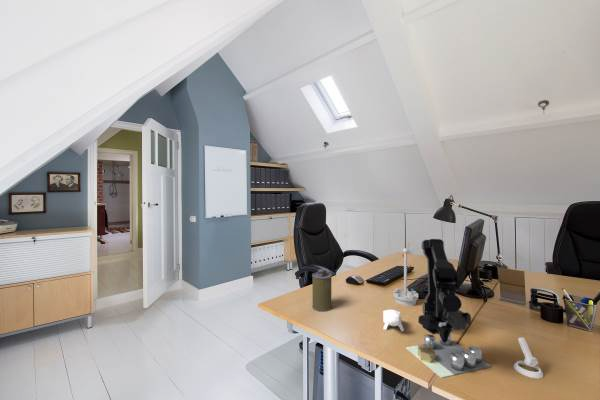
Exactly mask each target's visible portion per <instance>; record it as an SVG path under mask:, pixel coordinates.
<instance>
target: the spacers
mask: <svg viewBox="0 0 600 400" xmlns="http://www.w3.org/2000/svg"><path fill="white" fill-rule="evenodd" d="M451 340H452V333H450V335H449V337H448V340H447V342H445V343H444V342H443V341H442V339H441V337H440V336H439V341H440V343H441V344H442V345H445V346H451ZM436 342H437V340H436V337H435V336H434V335H432V334H429V333H427V334H424V336H423V344H424V346H427V347H431V348H432V349H433V350H435V349H436ZM482 360H483V350H482V349H481V348H480V347H478V346H473V345H471V346H469V347H468V350H467V349H466V350H464V351H462V355H461V354H459V353H451V368H453V369H454V370H456V371H464V366H465V367H467V368H470V369H474V368H476V364H481V363H482Z"/></svg>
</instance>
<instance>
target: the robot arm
mask: <svg viewBox="0 0 600 400" xmlns="http://www.w3.org/2000/svg"><path fill="white" fill-rule="evenodd" d="M444 242H445V241H444V240H443V239H440V238H430V239H424V240H423V241H422V242H421V250H422V252H423V253H422V254H423V255H424V256H425V258H426V262H427V282H428V283H427V285H428V291H427V292H428V293H427V294H426V296H425V298H424V302H423V305H422V314H423V315H422V314H421V315H420V316H418V318H417V319H418V320H417V321H418V323H419V324H420V325H422V328H423V329H425V330H426V331H428V332H430V333H431V334H439V338H440V337H441V339H442V341H443V342H444V343H445V342H447V340H448V337H449V335H450V333H451V332H452V331H453V329H454V330H455V331H459V330H466V328H467V327H468V325H471V322H472V317H471V316H472V315H471V314H470V313H469V312H467V311H466V312H464V311H463V310H461V308H462V305H463V304H462V300H461V299H460V297H459V296H458V295H457V293H456V290H460V289H461V285H462V284H461V283H462V282H461V279H460V275H459V273H458V270H457V269H456V268H455V266H454V264H453V263H452V262H449V261H448V257H447V255H446V251H445V245H444ZM451 334H452V333H451Z"/></svg>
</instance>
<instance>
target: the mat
mask: <svg viewBox="0 0 600 400" xmlns="http://www.w3.org/2000/svg"><path fill="white" fill-rule="evenodd" d="M420 346H424V343H422V344H417V345H413V346H407V347H406V346H405V348H406V350H408V351H409V353H411V354H412V355H413V356H414V357H416V358H417V359H418V360H419V361H421V362H422V363H423V365H425V366H427V368H428V369H430V370H431V371H432V372H434V374H436V375H437V376H438V377H439V378H441V379H444V378H447V377H453V376H456V375H460V374H461V375H462V374H465V373H470V372H473V371H474V372H475V371H479V370H483V369H487V368H491V367H492V365H491V364H489V363H487V362H486V361H484V360H483V359H482V363H481V364H476V368H474V369H470V368H467V367H465V366H464V371H456V370H454V369H453V368H451V353H459V354H461V355H462V351H464V350H467V349H465V348H464V347H462V346H461V345H460V344H458V343H457V342H455V341H453V340H452V339H451V346H445V345H442V344H441V343H440V340H439V341H437V340H436V349H435V350H434V351H435V361H433V362H431V363H428V362H425V361H422V360H420V358H419V356H418V347H420Z"/></svg>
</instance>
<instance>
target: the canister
mask: <svg viewBox="0 0 600 400" xmlns="http://www.w3.org/2000/svg"><path fill="white" fill-rule="evenodd" d="M311 277H312V305H311V307H312V309H313V310H314V311H317V312H329V311H331V310H332V308H333V306H332V277H333V274H331V273H330V272H329V271H327V270H326V269H323V268H320V269H318V270H317V272H314V273H312V274H311Z"/></svg>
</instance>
